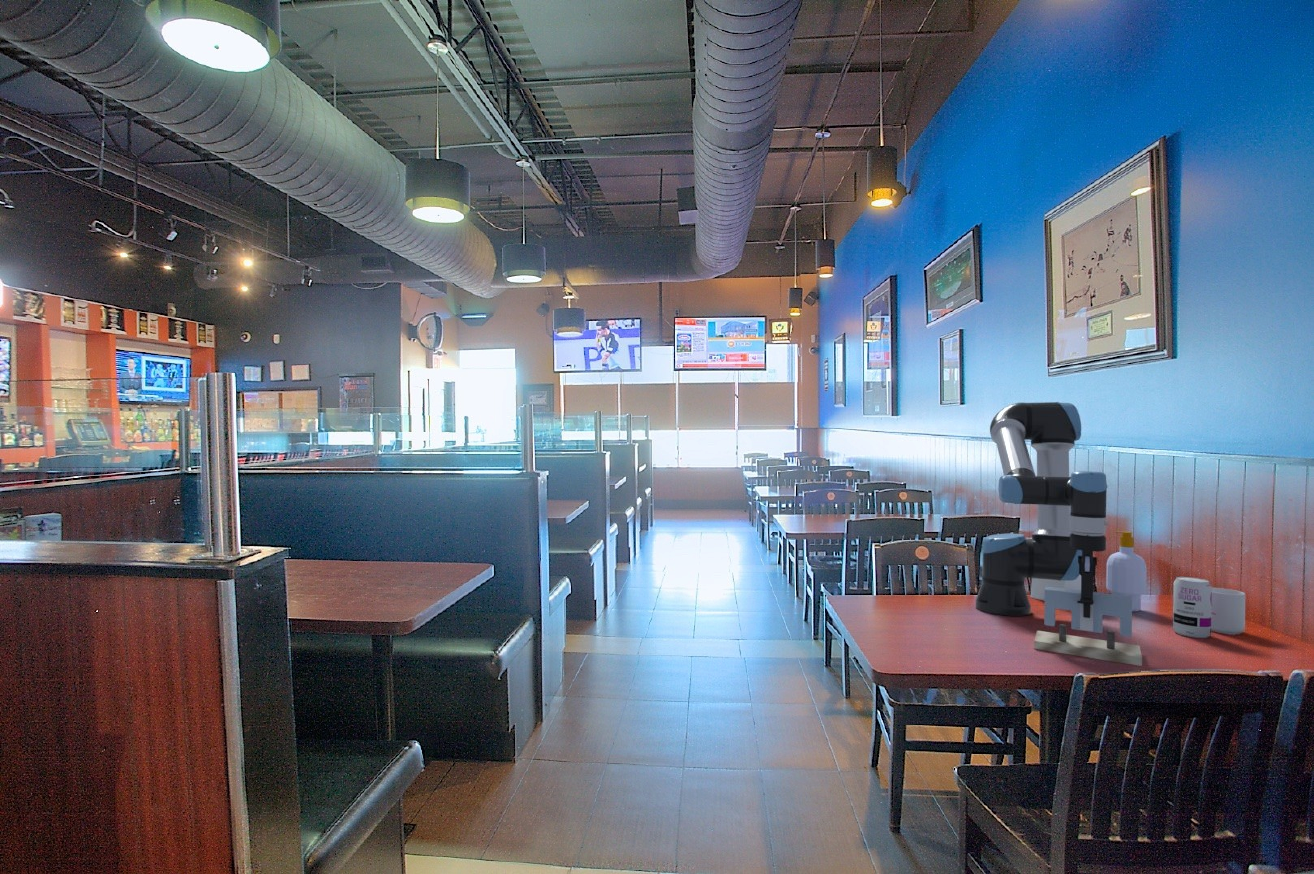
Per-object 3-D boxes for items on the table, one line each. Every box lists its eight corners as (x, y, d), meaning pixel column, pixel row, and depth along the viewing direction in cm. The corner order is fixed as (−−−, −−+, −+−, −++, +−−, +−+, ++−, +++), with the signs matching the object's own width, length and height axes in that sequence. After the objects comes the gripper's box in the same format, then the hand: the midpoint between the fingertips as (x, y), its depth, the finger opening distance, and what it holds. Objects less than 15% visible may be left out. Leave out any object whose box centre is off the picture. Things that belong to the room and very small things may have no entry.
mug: (1253, 635, 182) (1254, 594, 182) (1222, 635, 181) (1223, 594, 181) (1214, 623, 194) (1214, 585, 194) (1185, 623, 193) (1185, 585, 193)
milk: (1030, 597, 223) (1031, 519, 223) (1053, 594, 228) (1054, 518, 228) (1064, 605, 212) (1065, 524, 212) (1088, 602, 217) (1089, 523, 217)
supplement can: (1202, 631, 185) (1203, 577, 185) (1216, 640, 177) (1217, 583, 177) (1167, 628, 188) (1168, 575, 188) (1180, 636, 180) (1180, 581, 180)
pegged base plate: (1034, 648, 168) (1034, 624, 168) (1037, 637, 177) (1037, 615, 177) (1142, 666, 156) (1142, 640, 156) (1139, 653, 165) (1139, 629, 165)
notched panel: (1044, 624, 168) (1044, 589, 168) (1045, 621, 172) (1045, 586, 172) (1131, 637, 158) (1132, 599, 158) (1130, 633, 162) (1131, 596, 162)
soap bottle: (1106, 603, 216) (1107, 528, 216) (1145, 608, 210) (1146, 531, 210) (1105, 609, 208) (1106, 532, 208) (1146, 614, 202) (1147, 535, 202)
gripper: (1106, 539, 156) (1105, 639, 156) (1105, 531, 170) (1104, 622, 170) (1068, 536, 160) (1067, 633, 160) (1070, 528, 174) (1069, 618, 174)
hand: (1086, 627), depth 165 cm, fingers closed on notched panel, 4 cm apart
